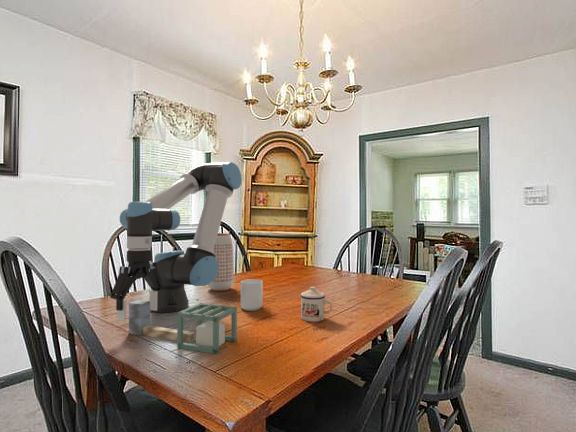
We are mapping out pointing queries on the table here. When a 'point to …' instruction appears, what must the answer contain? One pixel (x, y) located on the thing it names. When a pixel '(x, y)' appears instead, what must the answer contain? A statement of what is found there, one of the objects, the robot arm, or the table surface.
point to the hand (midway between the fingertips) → (138, 315)
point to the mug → (251, 294)
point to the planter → (223, 263)
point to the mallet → (141, 323)
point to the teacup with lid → (313, 305)
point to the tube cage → (207, 316)
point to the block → (209, 334)
